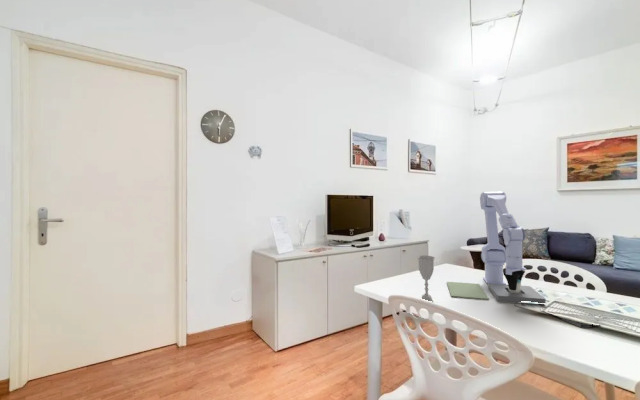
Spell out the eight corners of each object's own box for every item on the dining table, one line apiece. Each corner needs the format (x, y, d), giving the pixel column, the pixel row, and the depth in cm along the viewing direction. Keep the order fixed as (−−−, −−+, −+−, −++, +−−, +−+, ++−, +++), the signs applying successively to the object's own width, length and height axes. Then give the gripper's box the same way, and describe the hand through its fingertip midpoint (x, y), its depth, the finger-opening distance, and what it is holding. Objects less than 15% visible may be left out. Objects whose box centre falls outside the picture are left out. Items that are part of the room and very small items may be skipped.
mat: (446, 282, 141) (446, 281, 141) (478, 285, 136) (478, 283, 136) (451, 297, 122) (451, 295, 122) (488, 300, 118) (488, 298, 118)
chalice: (437, 304, 114) (436, 259, 114) (419, 303, 116) (418, 259, 115) (433, 297, 122) (432, 255, 121) (417, 297, 123) (416, 255, 123)
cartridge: (506, 296, 121) (506, 279, 121) (510, 293, 124) (510, 277, 124) (519, 299, 118) (518, 282, 117) (522, 296, 120) (522, 279, 120)
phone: (556, 305, 108) (601, 323, 93) (556, 308, 108) (601, 326, 93) (538, 307, 107) (581, 325, 92) (538, 310, 107) (581, 329, 92)
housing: (488, 288, 131) (488, 283, 131) (530, 291, 126) (530, 286, 126) (497, 301, 116) (497, 295, 116) (545, 305, 110) (545, 299, 110)
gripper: (519, 260, 113) (520, 295, 113) (530, 254, 122) (531, 286, 122) (499, 257, 118) (500, 290, 118) (511, 252, 127) (511, 283, 128)
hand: (514, 288), depth 121 cm, fingers closed on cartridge, 4 cm apart
